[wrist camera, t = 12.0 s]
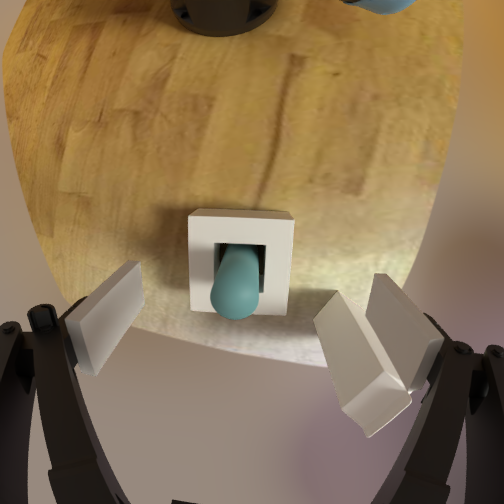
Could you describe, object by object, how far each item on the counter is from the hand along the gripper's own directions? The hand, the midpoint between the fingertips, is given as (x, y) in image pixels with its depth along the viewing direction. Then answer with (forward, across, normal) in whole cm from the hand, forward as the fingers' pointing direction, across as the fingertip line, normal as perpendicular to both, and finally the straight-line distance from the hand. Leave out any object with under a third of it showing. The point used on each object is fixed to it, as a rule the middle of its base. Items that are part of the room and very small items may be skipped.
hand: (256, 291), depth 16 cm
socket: (+24, -2, -6) cm, 25 cm away
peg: (+24, -2, -6) cm, 25 cm away
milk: (+24, +13, -15) cm, 31 cm away
